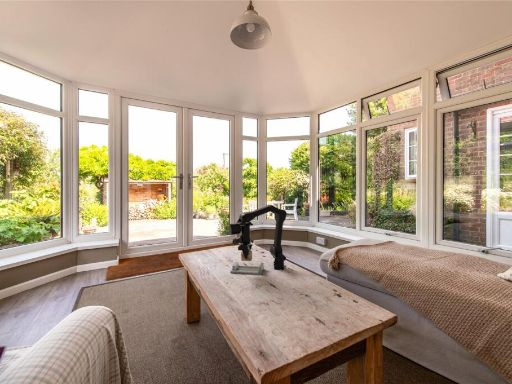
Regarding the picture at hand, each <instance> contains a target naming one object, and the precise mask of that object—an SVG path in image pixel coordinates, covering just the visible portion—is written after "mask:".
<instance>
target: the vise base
mask: <svg viewBox="0 0 512 384" xmlns="http://www.w3.org/2000/svg"><path fill="white" fill-rule="evenodd" d="M264 267H265V265H264V262H260V264H259V265H258V266H257V265H255V266H254V265H240V264H239V266H238V268H237V269H236V270H232V269H230V274H243V275H262V274H263V271H264V270H265V268H264Z"/></svg>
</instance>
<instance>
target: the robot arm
mask: <svg viewBox="0 0 512 384" xmlns="http://www.w3.org/2000/svg"><path fill="white" fill-rule="evenodd" d="M268 213H271V214H274V219H275V229H274V237H273V238H274V239H273V244H272V245H270V246H269V247H270V249H269V253H270V255H271V256H272V258H273V270H275V271H276V270H277V271H284V270H285V261H286V259H287V256H285V255H284V252H283V246H282V236H283V227H284V222H285V221H286V218H287V215H288V214H287V213H288V212H287V211H286V210H285V209H281V208H279V207H276V206H275V205H272V204H267V205H265V206H263V207H260V208H257V209H254V210H252V211H243V212H241V213H240V214H239V217H238V219H237V221H236V222H235V223H229V226H228V234H229V235H230V236H234V235H239V236H238V237H235V238H233V239H232V240H231V243H232V244H233V246H236V245H238V244H239V245H238V246H237V250H238V251H241V252H242V251H243V254H244V257H245V259H247V257H248V254H249V251H252V248H253V246H254V243H255V239H254V238H251V236H252V233H251V226H254V224H253V223H252V222H251V221H253V220H254V219H255V218H257V217H260V216H262V215H265V214H268Z"/></svg>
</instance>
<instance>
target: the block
mask: <svg viewBox="0 0 512 384" xmlns="http://www.w3.org/2000/svg"><path fill="white" fill-rule="evenodd" d="M240 255H241V257H240V258H241V261H242V262H251V261H252V260H253V250H251V251H249V254H248V257H247V259H245V257H244V254H243V251H241V252H240Z"/></svg>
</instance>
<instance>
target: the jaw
mask: <svg viewBox="0 0 512 384" xmlns="http://www.w3.org/2000/svg"><path fill="white" fill-rule="evenodd" d="M239 265H240V264H239V262H238V261H236V262H234V263H233V264H232V265H231V267H232V269H231V270H236V269H237V268H238V266H239Z"/></svg>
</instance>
